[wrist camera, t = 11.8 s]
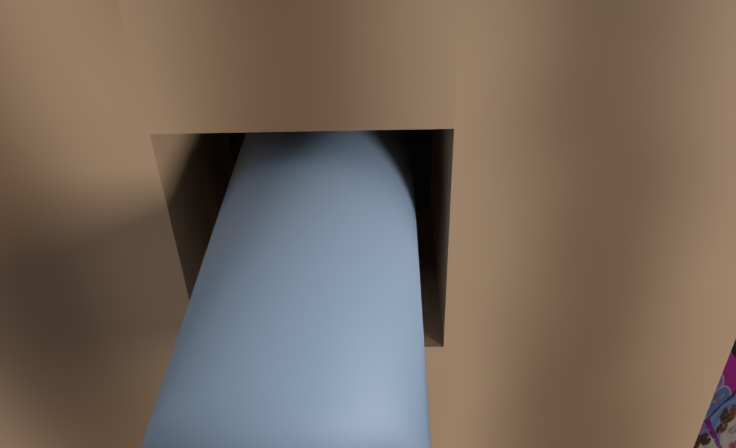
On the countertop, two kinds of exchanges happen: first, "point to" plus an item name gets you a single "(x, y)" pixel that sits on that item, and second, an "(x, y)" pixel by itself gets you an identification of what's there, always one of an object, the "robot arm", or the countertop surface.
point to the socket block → (434, 225)
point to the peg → (305, 304)
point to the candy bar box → (721, 411)
